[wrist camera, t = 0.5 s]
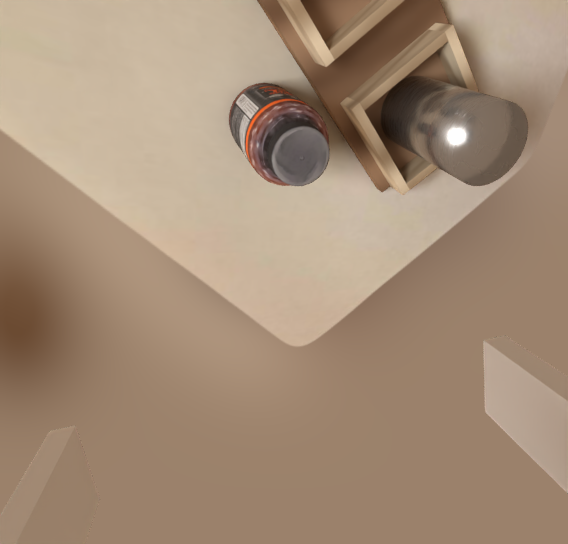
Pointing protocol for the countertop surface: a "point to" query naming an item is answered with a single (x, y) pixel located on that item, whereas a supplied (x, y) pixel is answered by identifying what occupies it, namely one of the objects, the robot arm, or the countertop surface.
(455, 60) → the wooden divided tray
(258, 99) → the supplement bottle
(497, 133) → the billet
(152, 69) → the countertop surface
